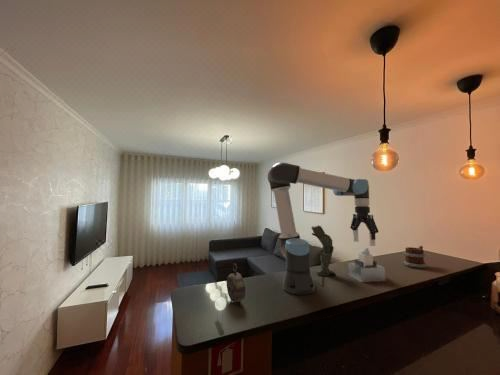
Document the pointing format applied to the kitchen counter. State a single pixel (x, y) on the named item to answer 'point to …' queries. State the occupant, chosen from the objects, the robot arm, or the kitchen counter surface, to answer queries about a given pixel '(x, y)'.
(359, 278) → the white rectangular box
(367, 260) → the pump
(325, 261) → the mechanical leg
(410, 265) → the chocolate layer cake
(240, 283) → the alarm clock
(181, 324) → the kitchen counter surface
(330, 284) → the kitchen counter surface
